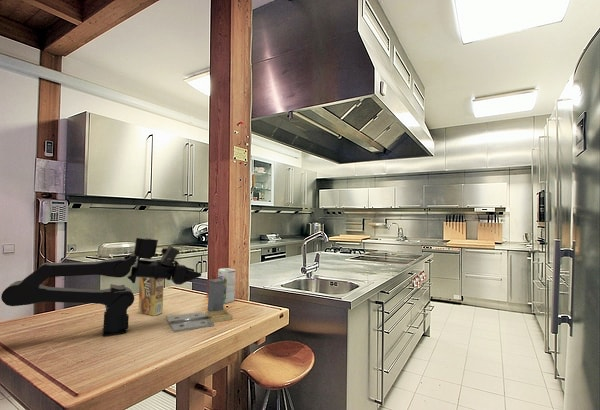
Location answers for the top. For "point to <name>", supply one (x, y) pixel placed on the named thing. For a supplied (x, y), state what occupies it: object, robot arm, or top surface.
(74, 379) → the top surface
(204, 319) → the hinge leaves
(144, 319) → the top surface
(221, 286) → the pin
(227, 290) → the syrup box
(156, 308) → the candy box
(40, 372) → the top surface
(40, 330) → the top surface
